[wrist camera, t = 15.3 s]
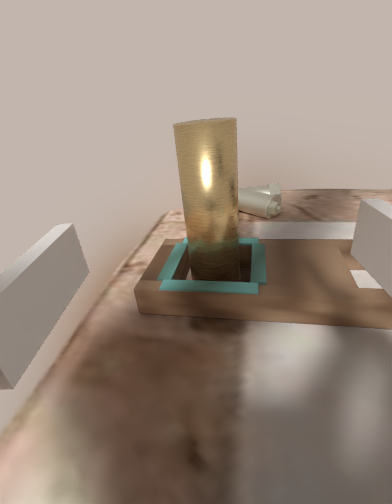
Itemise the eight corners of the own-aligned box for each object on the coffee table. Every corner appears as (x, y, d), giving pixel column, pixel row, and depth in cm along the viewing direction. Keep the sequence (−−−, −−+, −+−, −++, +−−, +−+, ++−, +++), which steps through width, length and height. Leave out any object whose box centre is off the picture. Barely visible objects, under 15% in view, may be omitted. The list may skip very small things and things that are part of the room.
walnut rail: (438, 263, 26) (448, 237, 24) (513, 336, 18) (533, 304, 17) (168, 259, 31) (165, 237, 30) (139, 313, 24) (133, 287, 22)
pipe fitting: (286, 223, 38) (275, 203, 44) (289, 196, 36) (276, 179, 42) (228, 228, 39) (224, 208, 44) (227, 202, 37) (223, 184, 42)
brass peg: (241, 272, 28) (238, 116, 21) (238, 301, 24) (233, 121, 17) (197, 271, 29) (181, 121, 22) (188, 298, 25) (165, 127, 18)
